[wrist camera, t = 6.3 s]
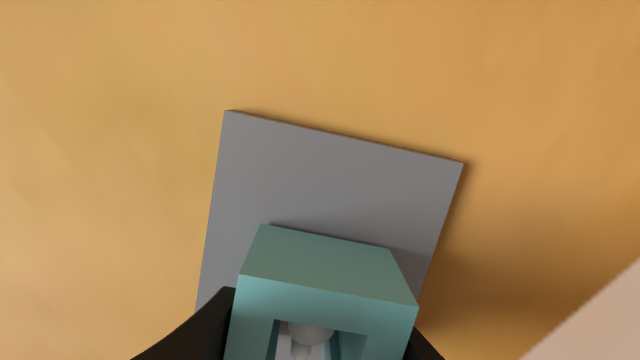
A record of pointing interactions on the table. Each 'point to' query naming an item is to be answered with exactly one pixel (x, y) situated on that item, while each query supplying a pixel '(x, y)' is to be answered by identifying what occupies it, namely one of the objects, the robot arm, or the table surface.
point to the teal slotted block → (320, 297)
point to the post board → (320, 204)
